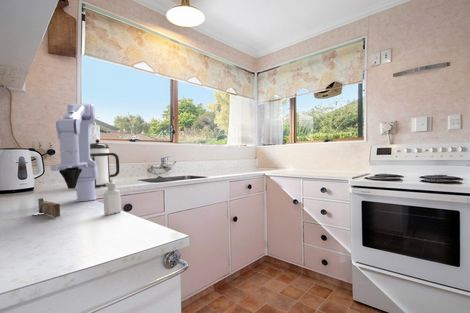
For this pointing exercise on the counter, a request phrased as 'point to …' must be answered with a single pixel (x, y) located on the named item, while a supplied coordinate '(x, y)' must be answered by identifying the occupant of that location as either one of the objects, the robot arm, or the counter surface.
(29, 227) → the counter surface
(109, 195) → the eye dropper bottle
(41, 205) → the gate post
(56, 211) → the gate
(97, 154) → the coffee press
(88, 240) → the counter surface
